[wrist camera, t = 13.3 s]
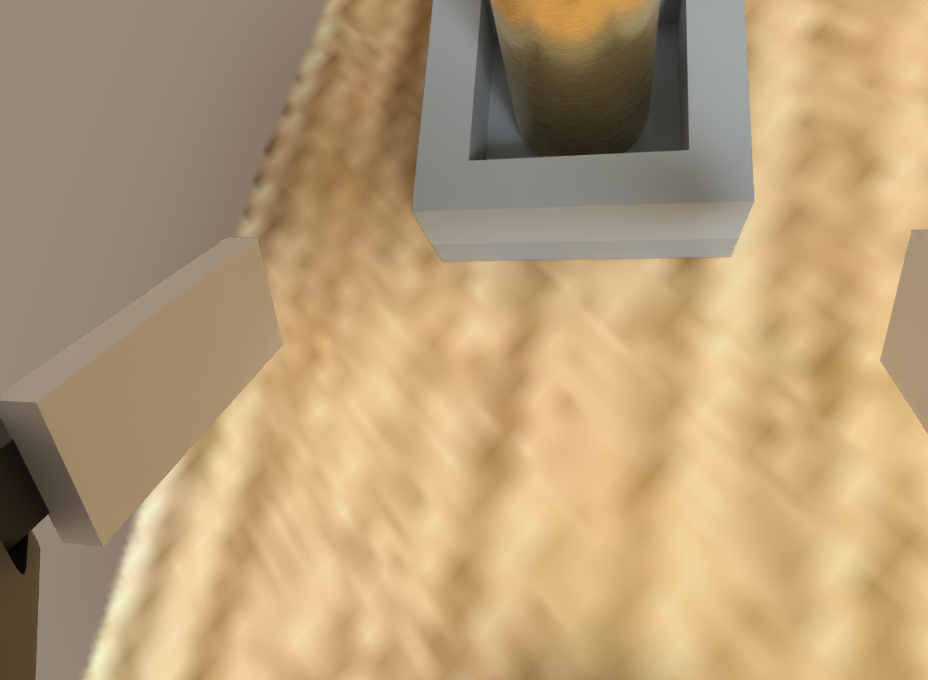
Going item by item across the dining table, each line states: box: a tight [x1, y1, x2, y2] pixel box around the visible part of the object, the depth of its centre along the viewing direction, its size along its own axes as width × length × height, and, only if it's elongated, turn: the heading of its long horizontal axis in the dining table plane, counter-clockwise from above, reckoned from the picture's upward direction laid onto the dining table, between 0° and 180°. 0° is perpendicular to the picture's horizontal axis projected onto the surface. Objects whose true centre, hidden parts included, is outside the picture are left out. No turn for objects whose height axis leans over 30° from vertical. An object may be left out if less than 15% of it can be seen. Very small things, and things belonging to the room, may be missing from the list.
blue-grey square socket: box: [412, 0, 754, 261], centre depth 23 cm, size 10×10×4 cm
